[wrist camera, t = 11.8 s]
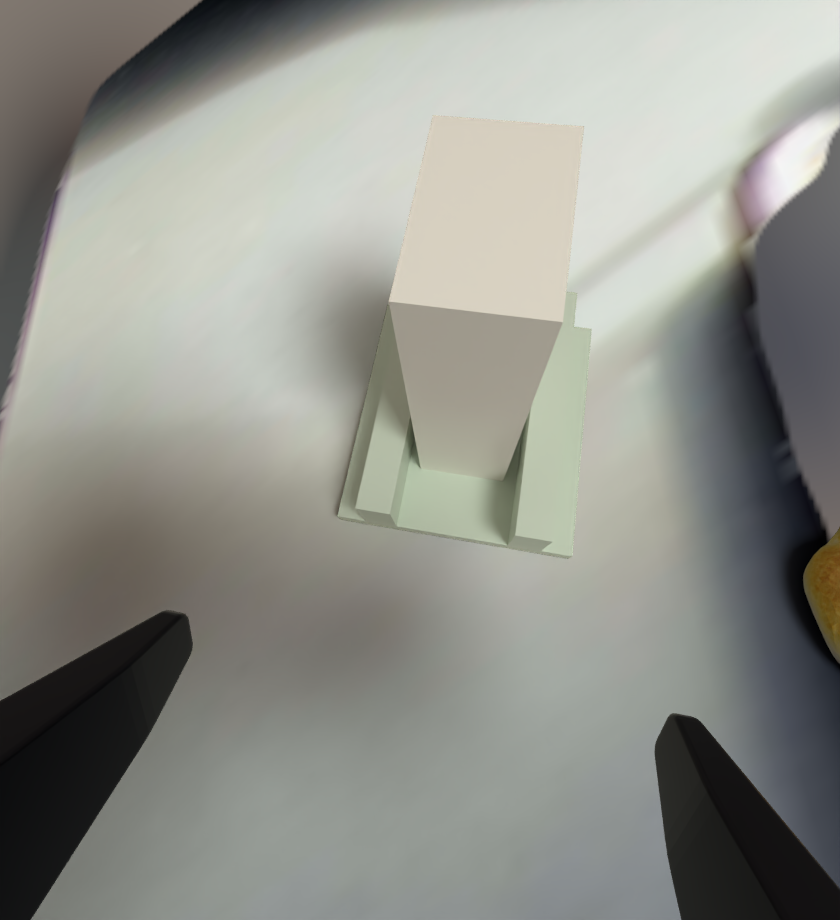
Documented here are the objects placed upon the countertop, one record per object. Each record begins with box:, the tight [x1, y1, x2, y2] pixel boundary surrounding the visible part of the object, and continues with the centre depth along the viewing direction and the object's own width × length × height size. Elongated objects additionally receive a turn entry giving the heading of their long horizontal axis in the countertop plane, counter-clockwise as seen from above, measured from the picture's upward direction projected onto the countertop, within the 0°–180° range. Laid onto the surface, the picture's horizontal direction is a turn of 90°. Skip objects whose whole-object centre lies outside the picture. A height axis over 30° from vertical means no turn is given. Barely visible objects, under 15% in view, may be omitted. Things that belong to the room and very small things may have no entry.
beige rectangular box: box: [389, 115, 584, 481], centre depth 18 cm, size 6×4×13 cm, turn 170°
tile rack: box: [337, 292, 592, 559], centre depth 23 cm, size 12×11×4 cm
